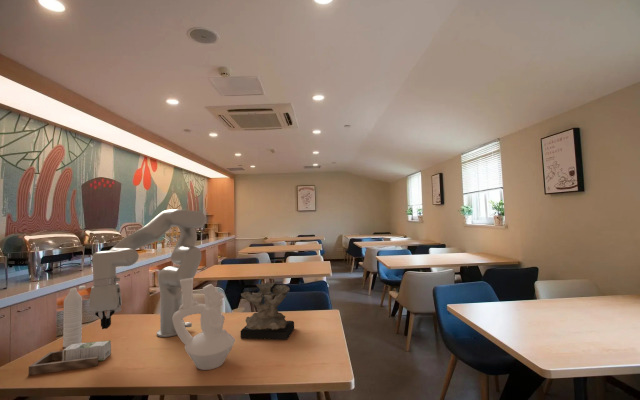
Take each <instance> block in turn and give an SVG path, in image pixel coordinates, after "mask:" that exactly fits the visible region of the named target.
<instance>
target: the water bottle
mask: <svg viewBox="0 0 640 400" xmlns="http://www.w3.org/2000/svg"><path fill="white" fill-rule="evenodd" d="M86 287H87V286H86V285H80V286H78V289H79V290H81V289H85V288H86ZM78 289H77V287H73V288H72V287H71V288H70V289H69V292H68V294H67V295H66V296H65V297H64V299H63V319H62V320H63V326H62V327H63V332H62V333H63V334H62V340H63V341H62V347H63V348H64V349H65V348H67V347H68V346H70V345H71V344H78V343H83V341H82V340H83V338H82V335H83V329H82V327H83V320H82V319H83V297H82V295H81V294H80V293H79V292H78Z"/></svg>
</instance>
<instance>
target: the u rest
mask: <svg viewBox="0 0 640 400" xmlns="http://www.w3.org/2000/svg"><path fill="white" fill-rule="evenodd" d="M62 352H63V350H58V351H57V350H55V351H50V352H48V353H46V354H45V355H43V357H40V358H39V359H38V360H36V361H35V362H33V363H32V364H30V365H29V366H28V376H34V375H40V374H41V375H42V374H48V373H56V372H63V370H64V371H70V370H78V369H84V368H85V369H86V368H93V367H97V366H98V365H99V361H98V357H91V358H83V359H75V360H67V361H62ZM53 360H54V361H53ZM60 360H61V361H60Z"/></svg>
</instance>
